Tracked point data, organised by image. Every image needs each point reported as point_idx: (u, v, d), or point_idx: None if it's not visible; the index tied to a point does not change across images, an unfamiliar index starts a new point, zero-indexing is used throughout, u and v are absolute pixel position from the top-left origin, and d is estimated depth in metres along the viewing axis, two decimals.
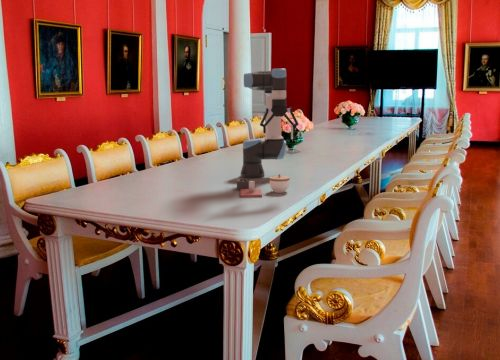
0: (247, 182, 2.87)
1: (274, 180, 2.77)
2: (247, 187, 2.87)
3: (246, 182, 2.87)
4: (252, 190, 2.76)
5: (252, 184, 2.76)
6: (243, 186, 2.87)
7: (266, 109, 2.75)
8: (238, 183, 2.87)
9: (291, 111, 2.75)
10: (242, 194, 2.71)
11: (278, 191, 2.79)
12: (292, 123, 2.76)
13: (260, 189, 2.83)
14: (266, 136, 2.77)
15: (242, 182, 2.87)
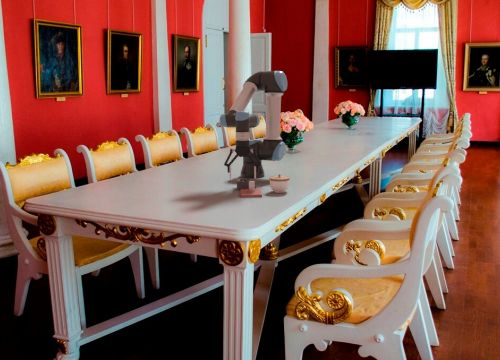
0: (247, 182, 2.87)
1: (274, 180, 2.77)
2: (247, 187, 2.87)
3: (246, 182, 2.87)
4: (252, 190, 2.76)
5: (252, 184, 2.76)
6: (243, 186, 2.87)
7: (230, 150, 2.86)
8: (238, 183, 2.87)
9: (254, 152, 2.86)
10: (242, 194, 2.71)
11: (278, 191, 2.79)
12: (255, 163, 2.87)
13: (260, 189, 2.83)
14: (230, 175, 2.88)
15: (242, 182, 2.87)
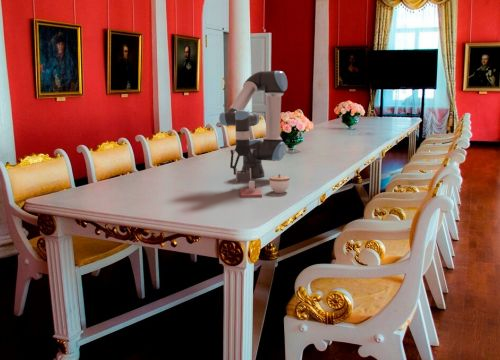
0: (247, 174, 2.86)
1: (274, 180, 2.77)
2: (247, 179, 2.87)
3: (246, 174, 2.86)
4: (252, 190, 2.76)
5: (252, 184, 2.76)
6: (243, 178, 2.87)
7: None
8: (238, 175, 2.86)
9: (253, 152, 2.87)
10: (242, 194, 2.71)
11: (278, 191, 2.79)
12: (251, 165, 2.88)
13: (260, 189, 2.83)
14: (236, 177, 2.89)
15: (242, 174, 2.86)
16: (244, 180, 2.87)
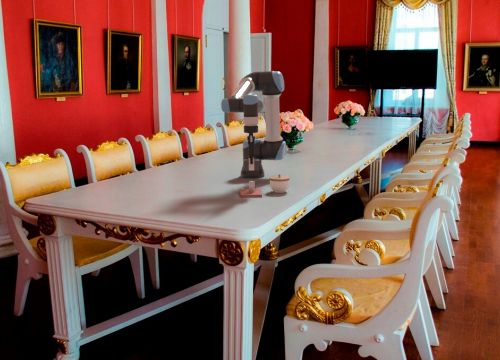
0: None
1: (274, 180, 2.77)
2: None
3: None
4: (252, 190, 2.76)
5: (252, 184, 2.76)
6: None
7: (248, 136, 2.79)
8: None
9: (249, 141, 2.67)
10: (242, 194, 2.71)
11: (278, 191, 2.79)
12: (249, 153, 2.70)
13: (260, 189, 2.83)
14: None
15: None
16: None
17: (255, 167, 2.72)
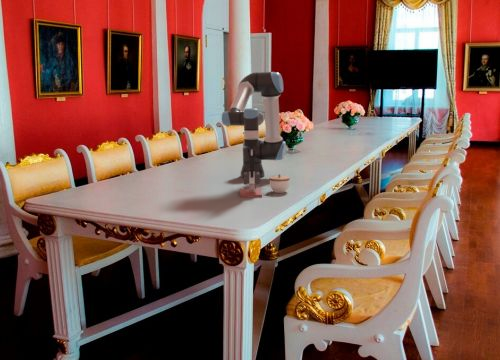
0: (244, 175, 2.73)
1: (274, 180, 2.77)
2: (244, 180, 2.74)
3: (244, 175, 2.74)
4: (252, 190, 2.76)
5: (252, 184, 2.76)
6: None
7: None
8: None
9: (249, 154, 2.68)
10: (242, 194, 2.71)
11: (278, 191, 2.79)
12: (249, 167, 2.71)
13: (260, 189, 2.83)
14: None
15: (244, 174, 2.76)
16: None
17: (255, 180, 2.73)
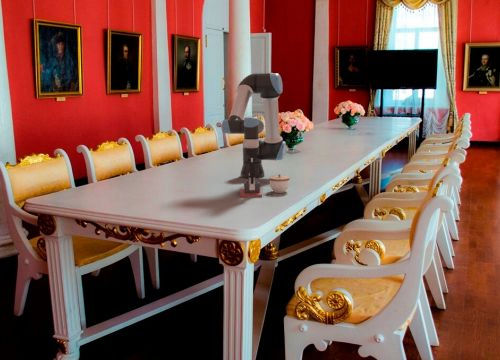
0: (244, 184, 2.74)
1: (274, 180, 2.77)
2: (244, 189, 2.75)
3: (244, 184, 2.75)
4: None
5: None
6: None
7: None
8: None
9: (249, 161, 2.68)
10: (242, 194, 2.71)
11: (278, 191, 2.79)
12: None
13: (260, 189, 2.83)
14: None
15: (244, 183, 2.77)
16: None
17: (256, 189, 2.74)
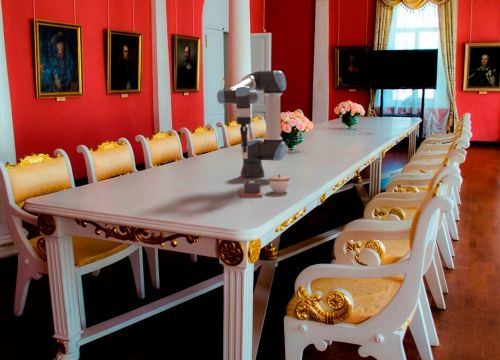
0: (244, 184, 2.74)
1: (274, 180, 2.77)
2: (244, 189, 2.75)
3: (244, 184, 2.75)
4: None
5: None
6: None
7: (241, 125, 2.84)
8: None
9: (241, 130, 2.71)
10: (242, 194, 2.71)
11: (278, 191, 2.79)
12: None
13: (260, 189, 2.83)
14: (241, 151, 2.87)
15: (244, 183, 2.77)
16: None
17: (256, 189, 2.74)
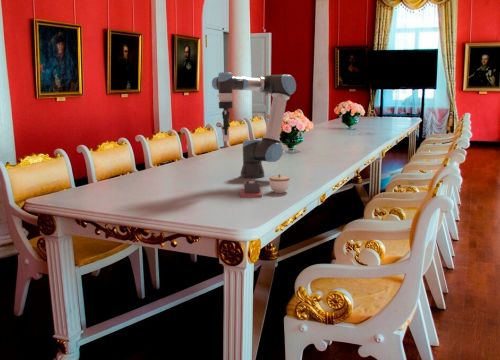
0: (244, 184, 2.74)
1: (274, 180, 2.77)
2: (244, 189, 2.75)
3: (244, 184, 2.75)
4: None
5: None
6: None
7: None
8: None
9: (223, 113, 2.83)
10: (242, 194, 2.71)
11: (278, 191, 2.79)
12: (223, 125, 2.84)
13: (260, 189, 2.83)
14: None
15: (244, 183, 2.77)
16: None
17: (256, 189, 2.74)
